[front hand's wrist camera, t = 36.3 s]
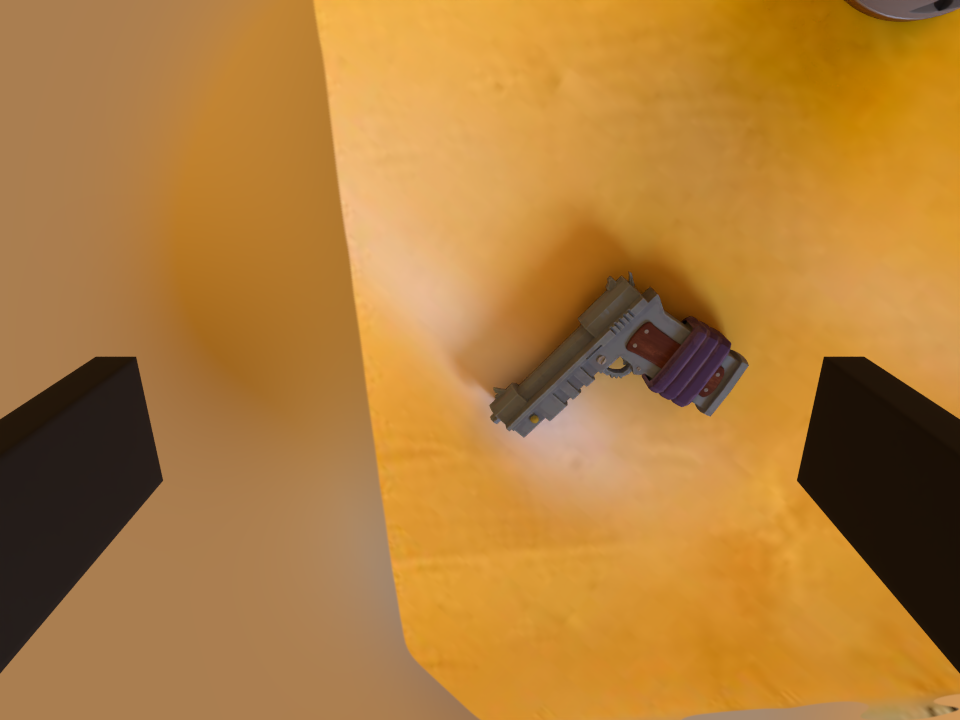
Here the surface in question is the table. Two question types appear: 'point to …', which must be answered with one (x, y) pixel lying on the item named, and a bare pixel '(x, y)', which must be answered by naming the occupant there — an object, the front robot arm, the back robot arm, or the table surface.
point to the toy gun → (626, 359)
